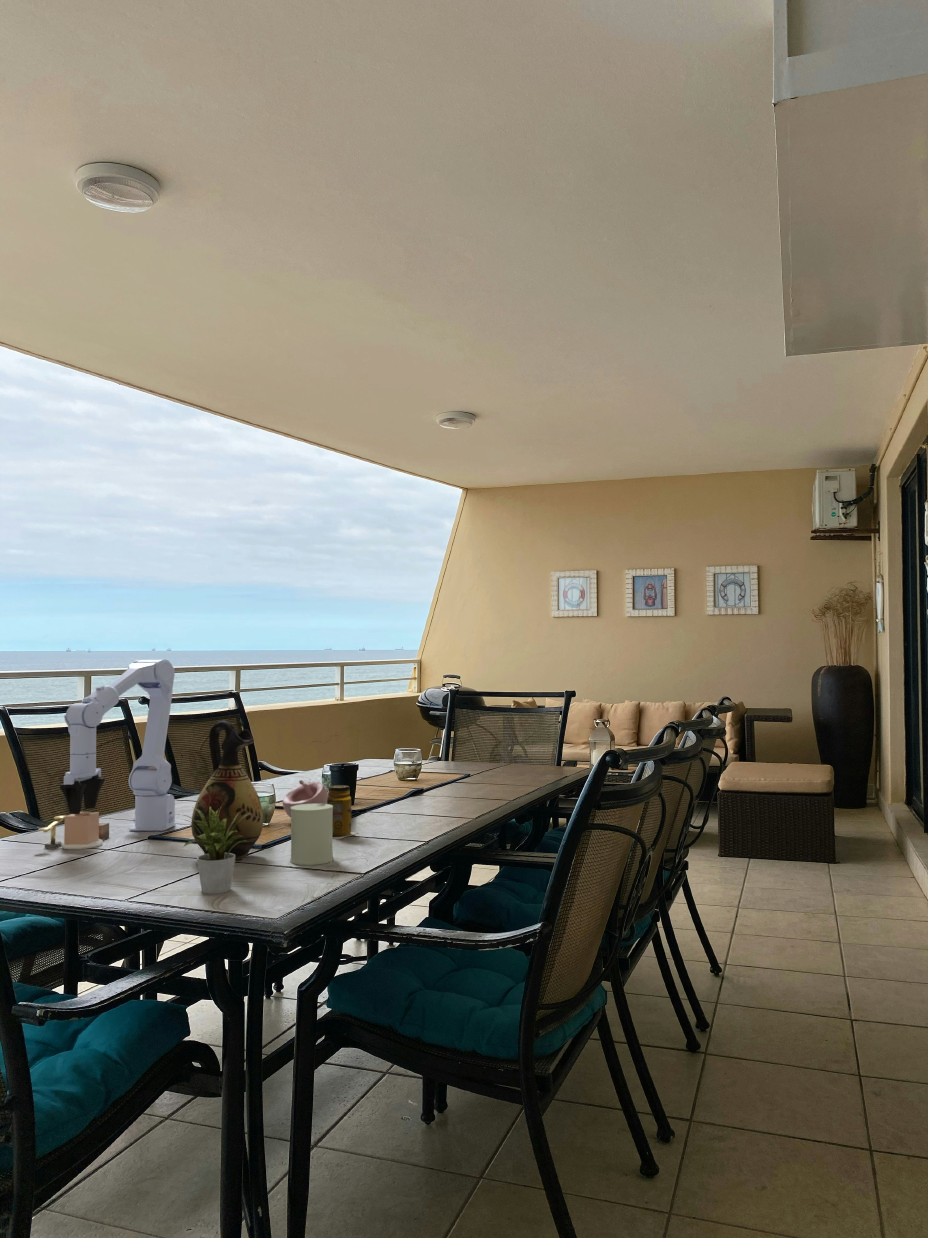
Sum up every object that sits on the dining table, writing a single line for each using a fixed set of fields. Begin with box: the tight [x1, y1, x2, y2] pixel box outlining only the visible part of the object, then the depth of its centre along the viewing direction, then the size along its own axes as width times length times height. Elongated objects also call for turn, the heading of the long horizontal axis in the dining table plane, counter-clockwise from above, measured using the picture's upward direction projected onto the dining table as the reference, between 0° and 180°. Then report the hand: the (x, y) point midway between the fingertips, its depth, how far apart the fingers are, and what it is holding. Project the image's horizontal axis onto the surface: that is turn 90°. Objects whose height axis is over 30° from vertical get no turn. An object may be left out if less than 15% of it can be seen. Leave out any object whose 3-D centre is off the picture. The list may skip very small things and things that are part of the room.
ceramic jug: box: [190, 719, 264, 862], centre depth 194 cm, size 17×15×30 cm
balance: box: [38, 815, 66, 849], centre depth 206 cm, size 10×3×6 cm, turn 177°
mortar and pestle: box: [282, 779, 329, 819], centre depth 236 cm, size 12×12×11 cm
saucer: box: [60, 839, 104, 850], centre depth 208 cm, size 9×9×1 cm
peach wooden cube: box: [63, 811, 100, 845], centre depth 208 cm, size 6×6×7 cm
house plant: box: [173, 804, 251, 895], centre depth 166 cm, size 14×14×16 cm
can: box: [289, 803, 334, 866], centre depth 190 cm, size 9×9×12 cm
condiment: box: [327, 784, 358, 840], centre depth 218 cm, size 7×8×12 cm
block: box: [99, 822, 110, 841], centre depth 216 cm, size 4×4×4 cm
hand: (82, 811), depth 208 cm, fingers open, 7 cm apart
